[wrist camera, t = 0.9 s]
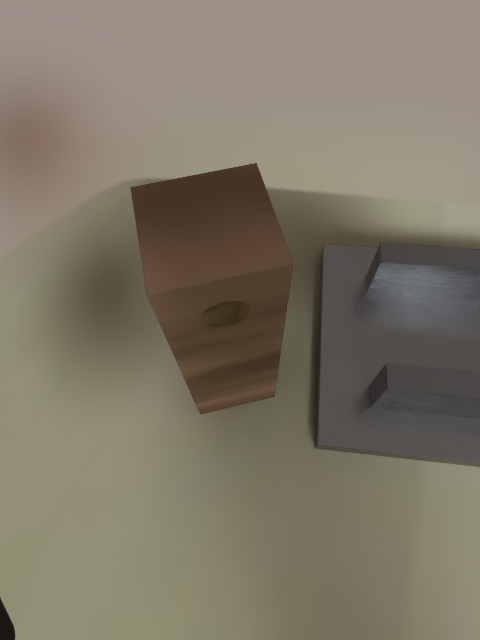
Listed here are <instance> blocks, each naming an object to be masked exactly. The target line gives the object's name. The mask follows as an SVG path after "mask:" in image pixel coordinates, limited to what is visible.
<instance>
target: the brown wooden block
mask: <svg viewBox="0 0 480 640" xmlns="http://www.w3.org/2000/svg"><path fill="white" fill-rule="evenodd" d="M131 193H132V199H133V206H134V213H135V219H136V226H137V232H138V239H139V246H140V252H141V259H142V266H143V272H144V279H145V285H146V292H147V296H148V299H149V301H150V303H151V305H152V307H153V310H154V312H155V314H156V316H157V319H158V321H159V323H160V325H161V328H162V330H163V332H164V334H165V336H166V339H167V341H168V343H169V345H170V348H171V350H172V352H173V354H174V357H175V359H176V361H177V363H178V365H179V368H180V370H181V372H182V374H183V377H184V379H185V381H186V383H187V386H188V388H189V390H190V392H191V394H192V397H193V399H194V401H195V403H196V406H197V408H198V410H199V412H200V414H204V413H208V412H212V411H216V410H220V409H224V408H229V407H233V406H237V405H241V404H245V403H249V402H254V401H258V400H262V399H266V398H270V397H274V395H275V388H276V381H277V374H278V367H279V360H280V353H281V346H282V339H283V332H284V325H285V318H286V311H287V304H288V297H289V290H290V283H291V276H292V268H293V262H292V259H291V256H290V254H289V251H288V248H287V245H286V243H285V240H284V237H283V234H282V232H281V229H280V226H279V224H278V221H277V218H276V215H275V213H274V210H273V207H272V204H271V202H270V199H269V196H268V193H267V191H266V188H265V185H264V182H263V180H262V177H261V174H260V171H259V169H258V166H257V163H255V164H250V165H244V166H239V167H234V168H229V169H224V170H219V171H213V172H208V173H204V174H198V175H193V176H187V177H183V178H177V179H172V180H167V181H162V182H156V183H151V184H146V185H141V186H136V187H131Z"/></svg>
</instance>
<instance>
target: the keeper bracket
mask: <svg viewBox="0 0 480 640" xmlns="http://www.w3.org/2000/svg"><path fill="white" fill-rule="evenodd" d="M316 448H318V449H327V450H336V451H345V452H354V453H362V454H371V455H380V456H389V457H398V458H406V459H415V460H424V461H433V462H442V463H450V464H459V465H468V466H477V467H480V250H478V249H464V248H450V247H436V246H422V245H408V244H394V243H380V245H379V247H378V248H373V247H359V246H345V245H331V244H324V246H323V250H322V256H321V288H320V320H319V352H318V384H317V416H316Z"/></svg>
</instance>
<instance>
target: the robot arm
mask: <svg viewBox="0 0 480 640" xmlns="http://www.w3.org/2000/svg"><path fill="white" fill-rule="evenodd" d="M0 640H15V630H14V626H13V623H12V621H11V619H10V617H9V615H8V613H7V611H6V609H5V607H4V605H3V602H2V600H1V598H0Z"/></svg>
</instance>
